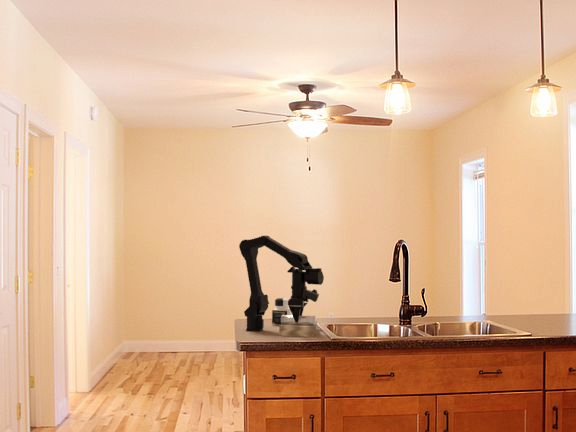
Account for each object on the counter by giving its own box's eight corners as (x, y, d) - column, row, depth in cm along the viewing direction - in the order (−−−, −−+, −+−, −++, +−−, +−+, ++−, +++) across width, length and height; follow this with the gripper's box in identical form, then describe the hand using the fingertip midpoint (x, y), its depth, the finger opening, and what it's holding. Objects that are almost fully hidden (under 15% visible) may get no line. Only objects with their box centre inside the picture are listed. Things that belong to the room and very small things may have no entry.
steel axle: (280, 326, 285) (280, 315, 285) (282, 324, 289) (282, 314, 289) (314, 327, 283) (314, 316, 283) (315, 325, 287) (315, 315, 287)
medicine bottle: (271, 325, 313) (272, 298, 313) (275, 323, 320) (276, 297, 320) (286, 325, 311) (287, 299, 312) (290, 323, 318) (290, 298, 319)
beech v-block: (279, 335, 281) (279, 325, 282) (283, 331, 292) (283, 322, 292) (313, 336, 279) (313, 326, 279) (316, 332, 290) (316, 323, 290)
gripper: (315, 285, 276) (314, 324, 275) (320, 282, 294) (319, 318, 294) (287, 285, 278) (287, 323, 277) (294, 281, 296) (294, 318, 296)
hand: (298, 320), depth 286 cm, fingers open, 9 cm apart
